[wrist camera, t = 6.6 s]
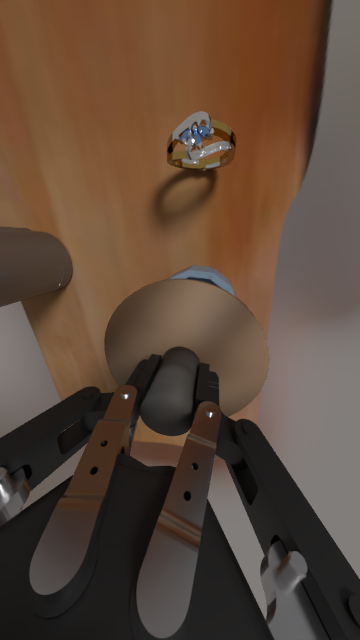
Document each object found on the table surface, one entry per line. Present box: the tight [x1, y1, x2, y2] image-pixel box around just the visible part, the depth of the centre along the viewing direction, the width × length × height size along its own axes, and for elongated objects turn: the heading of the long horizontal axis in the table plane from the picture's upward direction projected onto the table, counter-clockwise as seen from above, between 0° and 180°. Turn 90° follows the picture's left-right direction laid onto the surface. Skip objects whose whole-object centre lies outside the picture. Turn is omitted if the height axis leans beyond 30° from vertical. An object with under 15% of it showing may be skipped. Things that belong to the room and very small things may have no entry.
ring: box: [167, 112, 236, 171], centre depth 19 cm, size 7×3×8 cm, turn 86°
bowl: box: [169, 265, 235, 296], centre depth 27 cm, size 11×11×5 cm
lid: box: [105, 278, 269, 436], centre depth 13 cm, size 13×13×6 cm
